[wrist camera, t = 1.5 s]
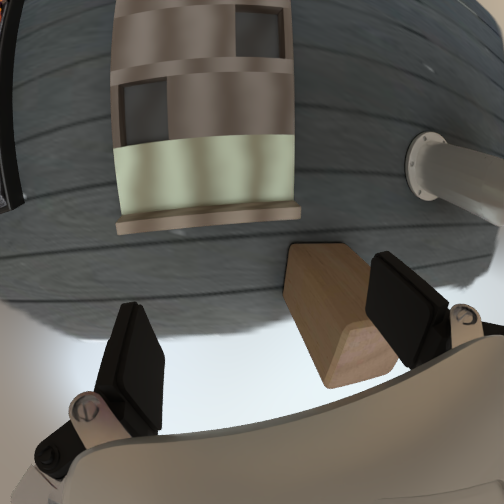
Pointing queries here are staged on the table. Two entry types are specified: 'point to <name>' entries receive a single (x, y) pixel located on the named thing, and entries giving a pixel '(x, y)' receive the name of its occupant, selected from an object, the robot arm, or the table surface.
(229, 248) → the table surface
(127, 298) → the table surface
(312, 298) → the block
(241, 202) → the board
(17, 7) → the food platter
